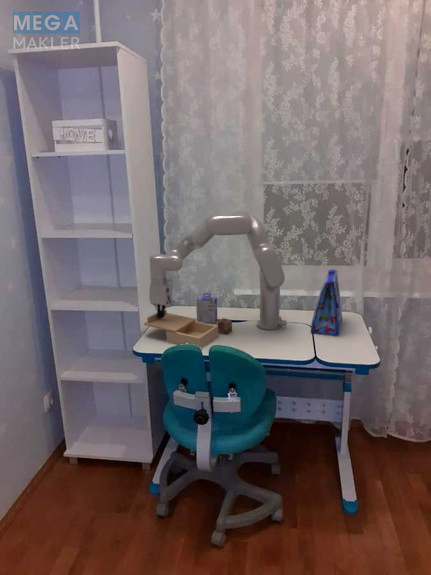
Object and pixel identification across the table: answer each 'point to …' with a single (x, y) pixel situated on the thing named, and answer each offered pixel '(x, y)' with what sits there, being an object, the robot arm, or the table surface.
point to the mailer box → (194, 334)
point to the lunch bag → (328, 307)
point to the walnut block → (224, 326)
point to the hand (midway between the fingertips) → (161, 317)
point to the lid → (169, 321)
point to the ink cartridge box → (206, 309)
